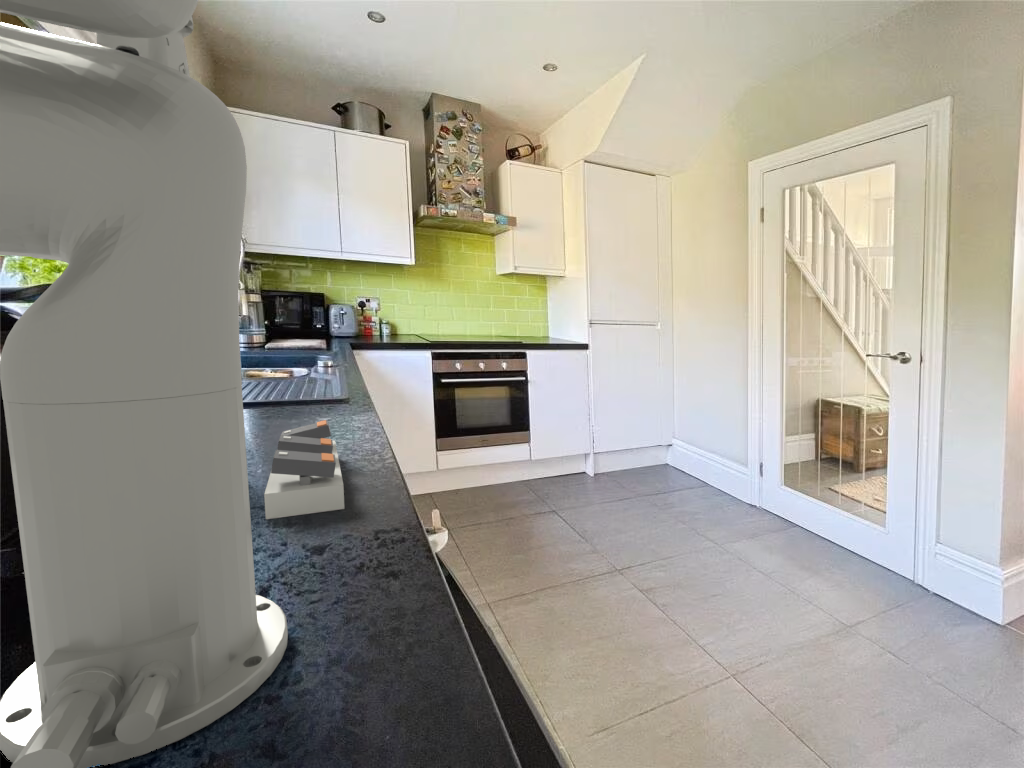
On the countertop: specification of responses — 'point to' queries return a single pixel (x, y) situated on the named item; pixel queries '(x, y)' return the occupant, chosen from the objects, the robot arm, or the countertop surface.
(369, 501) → the countertop surface
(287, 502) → the switch panel base
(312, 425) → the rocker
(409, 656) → the countertop surface
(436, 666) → the countertop surface
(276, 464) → the rocker
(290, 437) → the rocker
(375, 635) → the countertop surface
